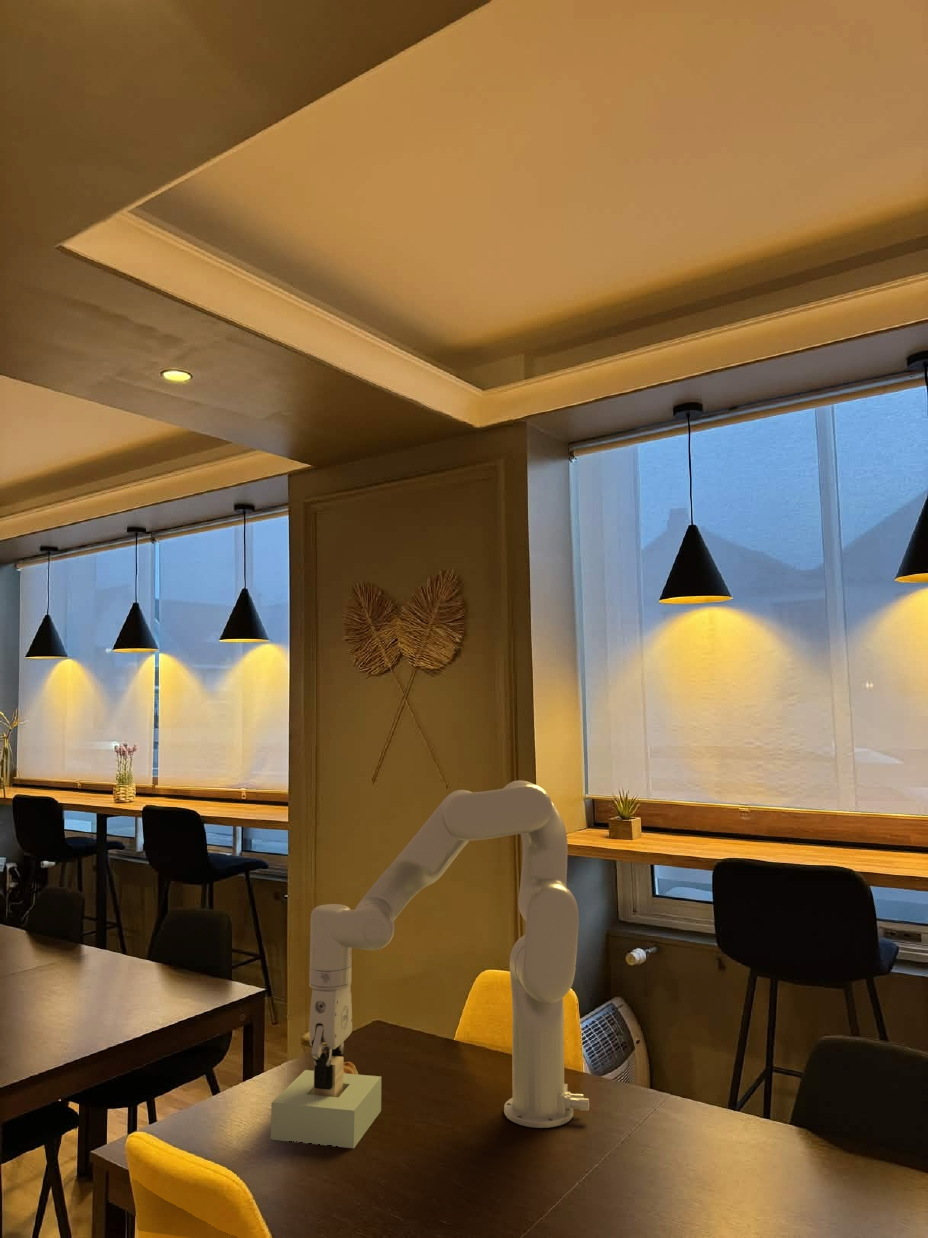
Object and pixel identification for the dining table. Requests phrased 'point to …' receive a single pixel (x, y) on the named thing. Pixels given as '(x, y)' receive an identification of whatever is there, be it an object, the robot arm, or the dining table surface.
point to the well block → (326, 1111)
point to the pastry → (349, 1068)
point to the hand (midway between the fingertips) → (328, 1081)
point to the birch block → (337, 1079)
